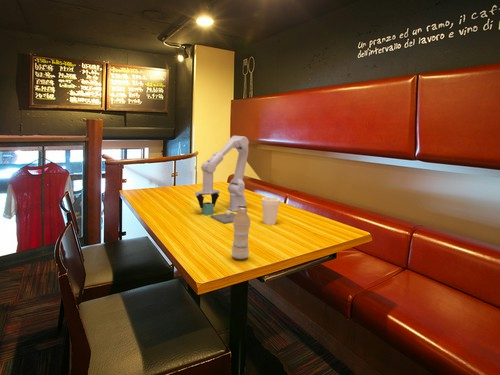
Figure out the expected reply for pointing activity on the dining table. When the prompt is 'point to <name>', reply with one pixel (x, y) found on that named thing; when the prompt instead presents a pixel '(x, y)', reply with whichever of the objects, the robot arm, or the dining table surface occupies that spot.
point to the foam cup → (270, 209)
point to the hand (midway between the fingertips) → (207, 207)
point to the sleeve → (207, 208)
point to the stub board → (224, 217)
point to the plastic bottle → (241, 233)
